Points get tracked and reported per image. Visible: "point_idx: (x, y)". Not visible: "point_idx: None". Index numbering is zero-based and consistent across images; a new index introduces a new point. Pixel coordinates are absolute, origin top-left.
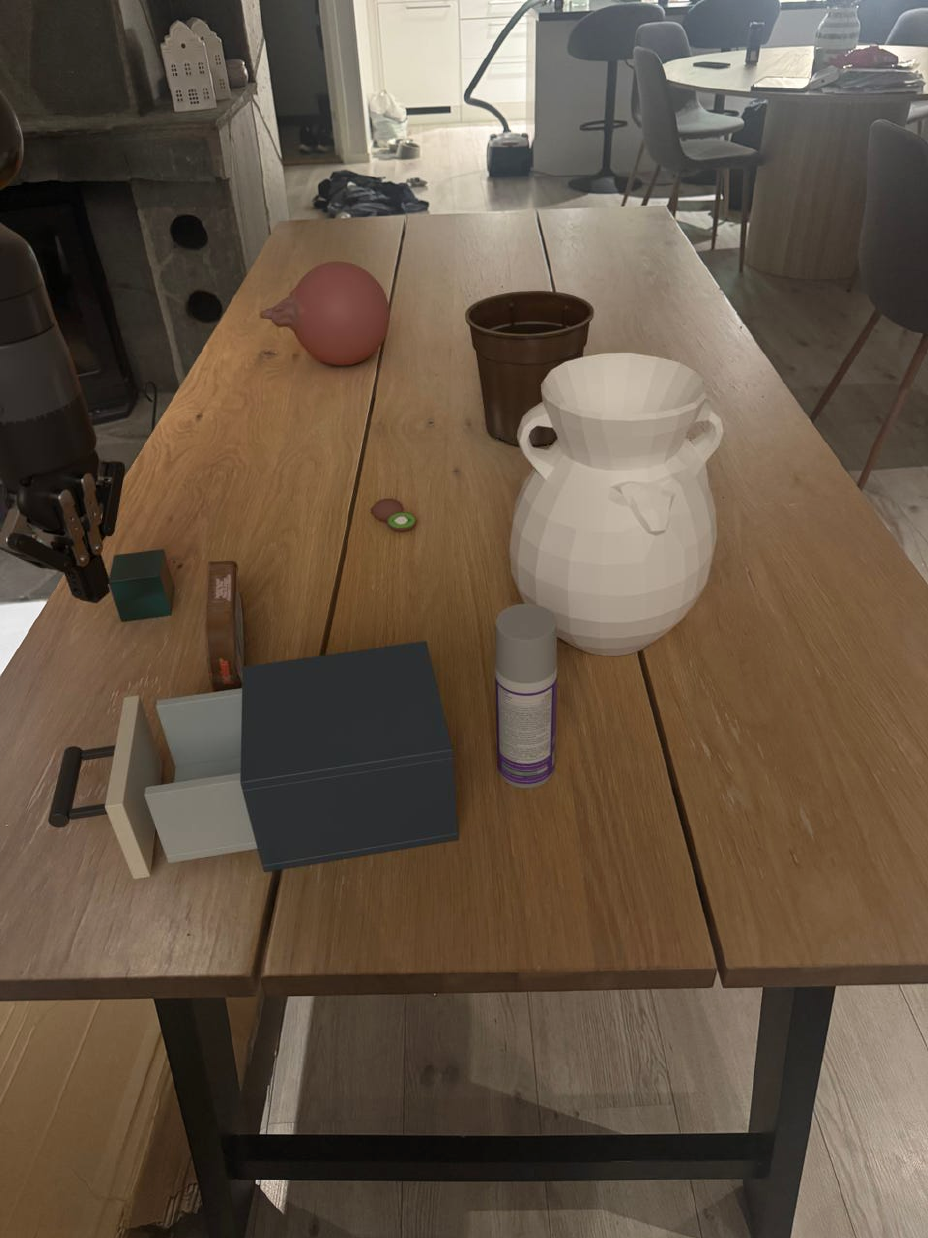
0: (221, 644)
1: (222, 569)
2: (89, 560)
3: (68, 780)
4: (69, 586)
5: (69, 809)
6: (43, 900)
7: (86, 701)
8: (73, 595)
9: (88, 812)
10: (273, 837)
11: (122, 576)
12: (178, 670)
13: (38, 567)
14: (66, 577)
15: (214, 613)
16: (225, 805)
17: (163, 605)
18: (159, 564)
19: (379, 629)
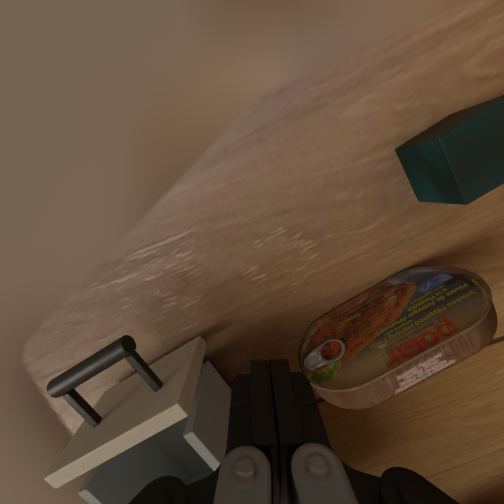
0: (325, 397)
1: (466, 345)
2: (277, 500)
3: (87, 377)
4: (230, 401)
5: (68, 392)
6: (67, 333)
7: (261, 209)
8: (234, 381)
9: (74, 408)
10: None
11: (455, 150)
12: (331, 268)
13: (145, 488)
14: (229, 424)
15: (364, 393)
16: None
17: (426, 197)
18: (494, 186)
19: (433, 403)
